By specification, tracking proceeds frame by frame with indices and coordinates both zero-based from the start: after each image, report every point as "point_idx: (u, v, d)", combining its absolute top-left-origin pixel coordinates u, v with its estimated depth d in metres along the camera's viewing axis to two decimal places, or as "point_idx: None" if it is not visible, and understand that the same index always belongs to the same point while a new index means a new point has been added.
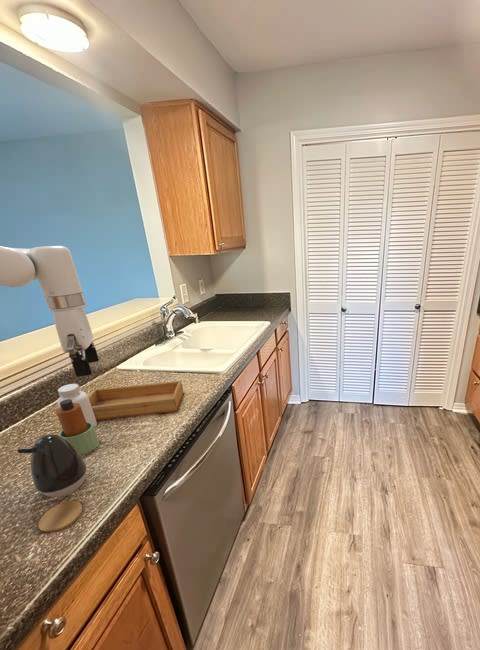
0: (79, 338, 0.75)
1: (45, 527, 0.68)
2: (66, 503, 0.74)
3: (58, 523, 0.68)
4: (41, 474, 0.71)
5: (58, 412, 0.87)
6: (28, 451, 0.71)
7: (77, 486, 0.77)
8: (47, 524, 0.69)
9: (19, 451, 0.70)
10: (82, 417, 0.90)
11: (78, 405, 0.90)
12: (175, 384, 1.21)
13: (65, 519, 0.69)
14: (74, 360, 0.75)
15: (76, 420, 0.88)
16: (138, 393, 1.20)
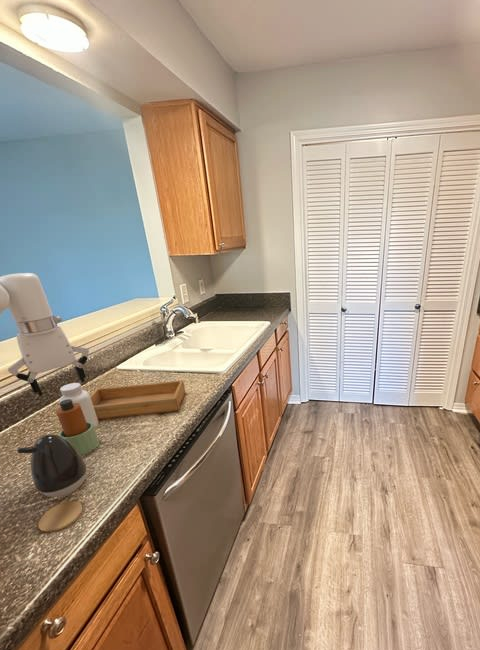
0: (26, 362, 0.79)
1: (45, 527, 0.68)
2: (66, 503, 0.74)
3: (58, 523, 0.68)
4: (41, 474, 0.71)
5: (58, 412, 0.87)
6: (28, 451, 0.71)
7: (77, 486, 0.77)
8: (47, 524, 0.69)
9: (19, 451, 0.70)
10: (82, 417, 0.90)
11: (78, 405, 0.90)
12: (177, 383, 1.22)
13: (65, 519, 0.69)
14: None
15: (76, 420, 0.88)
16: (140, 392, 1.21)
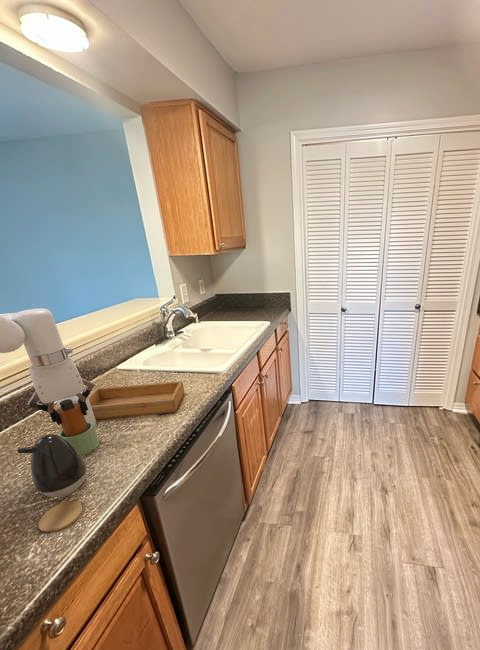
0: (37, 393, 0.82)
1: (45, 527, 0.68)
2: (66, 503, 0.74)
3: (58, 523, 0.68)
4: (41, 474, 0.71)
5: (58, 412, 0.87)
6: (28, 451, 0.71)
7: (77, 486, 0.77)
8: (47, 524, 0.69)
9: (19, 451, 0.70)
10: (82, 417, 0.90)
11: (78, 405, 0.90)
12: (176, 384, 1.21)
13: (65, 519, 0.69)
14: None
15: (76, 420, 0.88)
16: (139, 393, 1.20)
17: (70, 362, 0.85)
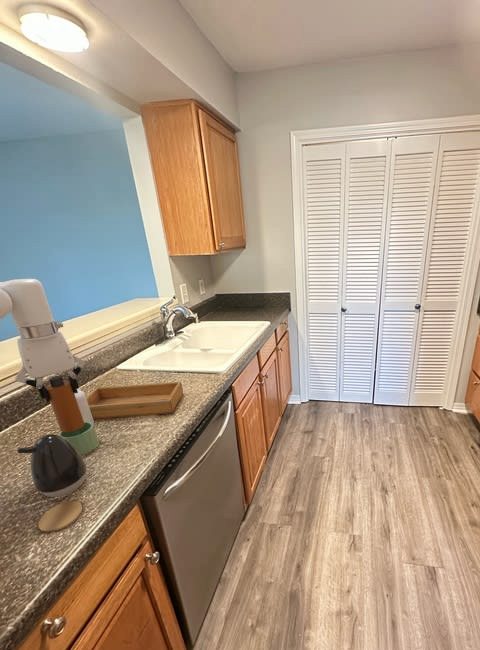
0: (25, 367, 0.79)
1: (45, 527, 0.68)
2: (66, 503, 0.74)
3: (58, 523, 0.68)
4: (41, 474, 0.71)
5: (47, 388, 0.83)
6: (28, 451, 0.71)
7: (77, 486, 0.77)
8: (47, 524, 0.69)
9: (19, 451, 0.70)
10: (72, 395, 0.87)
11: (68, 382, 0.87)
12: (175, 385, 1.21)
13: (65, 519, 0.69)
14: None
15: (65, 397, 0.85)
16: (138, 393, 1.20)
17: (60, 336, 0.82)
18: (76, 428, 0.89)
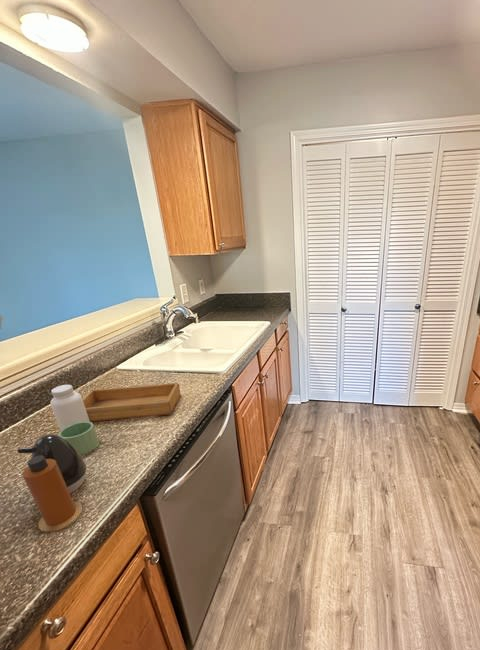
0: None
1: (45, 527, 0.68)
2: None
3: None
4: None
5: (25, 475, 0.63)
6: (28, 451, 0.71)
7: (77, 486, 0.77)
8: None
9: (19, 451, 0.70)
10: (59, 479, 0.67)
11: (53, 462, 0.67)
12: (172, 386, 1.20)
13: None
14: None
15: (50, 484, 0.65)
16: (135, 394, 1.19)
17: None
18: (65, 519, 0.69)
